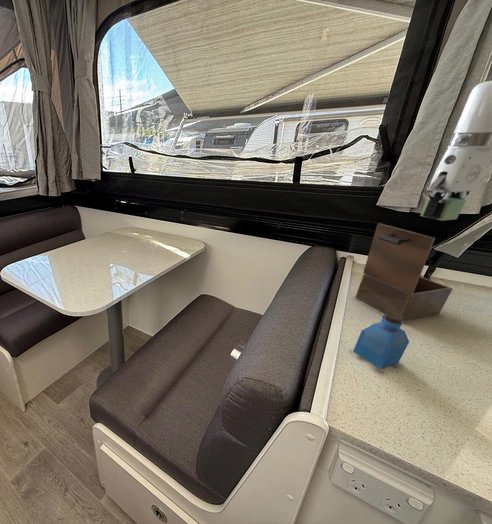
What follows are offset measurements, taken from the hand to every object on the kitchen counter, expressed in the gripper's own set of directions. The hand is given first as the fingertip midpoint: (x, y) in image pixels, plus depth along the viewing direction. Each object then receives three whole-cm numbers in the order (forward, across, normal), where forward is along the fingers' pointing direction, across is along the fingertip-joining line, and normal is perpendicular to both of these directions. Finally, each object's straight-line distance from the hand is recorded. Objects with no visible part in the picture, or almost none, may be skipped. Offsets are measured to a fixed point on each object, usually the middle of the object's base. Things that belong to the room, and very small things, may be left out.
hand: (438, 216), depth 71 cm
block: (0, 0, 0) cm, 0 cm away
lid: (+12, -7, +2) cm, 14 cm away
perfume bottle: (+30, -27, -14) cm, 42 cm away
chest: (+29, +2, +2) cm, 29 cm away
